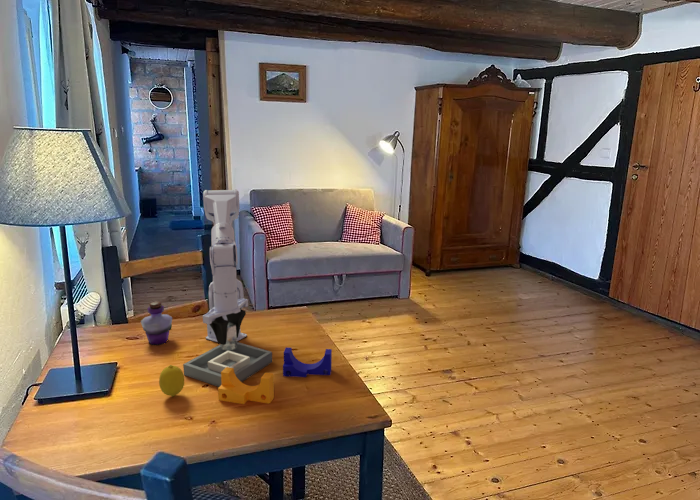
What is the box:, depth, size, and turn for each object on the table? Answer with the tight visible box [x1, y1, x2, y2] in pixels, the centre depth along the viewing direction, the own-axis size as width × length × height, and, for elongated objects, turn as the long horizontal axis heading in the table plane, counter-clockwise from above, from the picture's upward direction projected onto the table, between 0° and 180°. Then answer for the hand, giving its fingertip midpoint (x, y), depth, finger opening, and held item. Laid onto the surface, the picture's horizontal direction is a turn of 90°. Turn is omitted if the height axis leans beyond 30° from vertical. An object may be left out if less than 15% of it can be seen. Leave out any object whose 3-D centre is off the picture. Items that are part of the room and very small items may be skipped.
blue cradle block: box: [282, 347, 333, 378], centre depth 128 cm, size 12×4×6 cm, turn 87°
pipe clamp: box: [217, 367, 275, 405], centre depth 116 cm, size 12×4×6 cm, turn 76°
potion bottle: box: [140, 300, 173, 346], centre depth 145 cm, size 9×9×12 cm
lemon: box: [158, 364, 185, 398], centre depth 116 cm, size 6×6×8 cm
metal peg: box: [221, 322, 238, 350], centre depth 128 cm, size 4×4×6 cm
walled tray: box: [182, 341, 273, 388], centre depth 130 cm, size 15×17×3 cm
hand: (228, 340), depth 129 cm, fingers closed on metal peg, 4 cm apart
